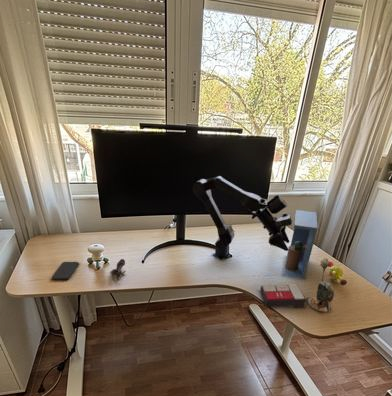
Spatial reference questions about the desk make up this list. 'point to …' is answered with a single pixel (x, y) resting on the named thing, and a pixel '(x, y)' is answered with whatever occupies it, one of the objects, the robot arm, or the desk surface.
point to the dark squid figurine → (119, 269)
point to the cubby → (303, 240)
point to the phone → (65, 271)
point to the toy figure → (336, 273)
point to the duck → (294, 255)
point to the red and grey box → (282, 295)
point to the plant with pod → (322, 293)
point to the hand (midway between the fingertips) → (288, 246)
